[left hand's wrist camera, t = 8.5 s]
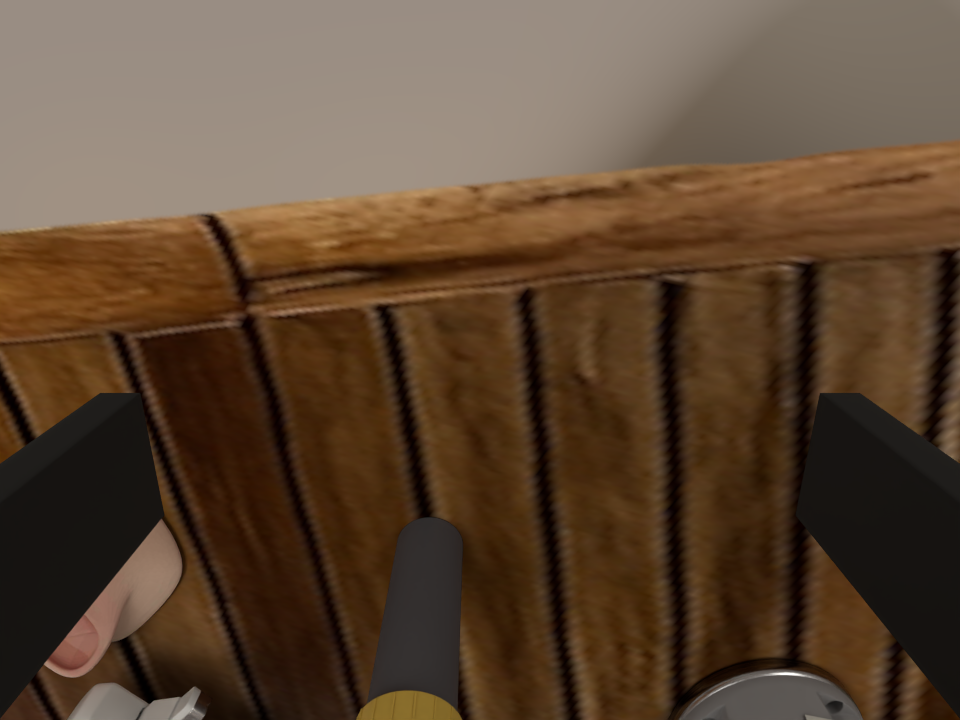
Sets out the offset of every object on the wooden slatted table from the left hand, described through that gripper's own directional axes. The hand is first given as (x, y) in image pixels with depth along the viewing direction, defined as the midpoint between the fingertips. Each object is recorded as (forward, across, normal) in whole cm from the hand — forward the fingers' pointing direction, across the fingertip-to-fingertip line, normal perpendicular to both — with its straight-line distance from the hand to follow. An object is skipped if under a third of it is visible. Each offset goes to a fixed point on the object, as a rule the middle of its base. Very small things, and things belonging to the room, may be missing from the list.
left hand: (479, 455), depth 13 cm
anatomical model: (+27, +27, +23) cm, 45 cm away
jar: (+27, +4, +22) cm, 35 cm away
